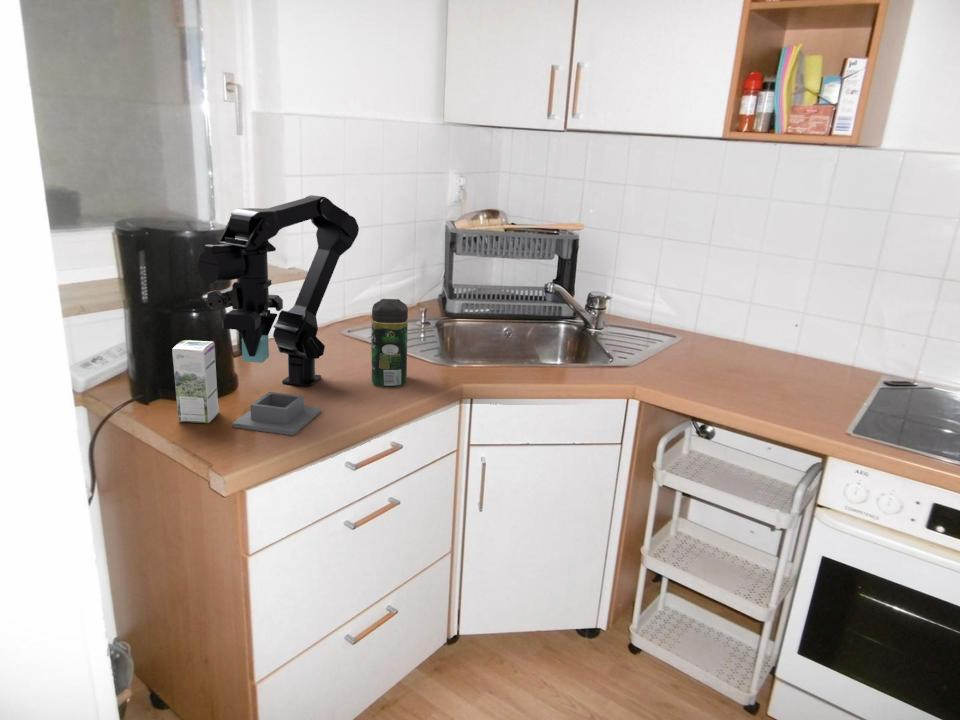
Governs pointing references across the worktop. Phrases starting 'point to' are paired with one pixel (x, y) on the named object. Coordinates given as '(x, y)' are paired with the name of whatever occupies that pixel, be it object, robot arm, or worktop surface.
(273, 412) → the socket
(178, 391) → the syrup box
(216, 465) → the worktop surface
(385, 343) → the coffee jar
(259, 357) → the peg
